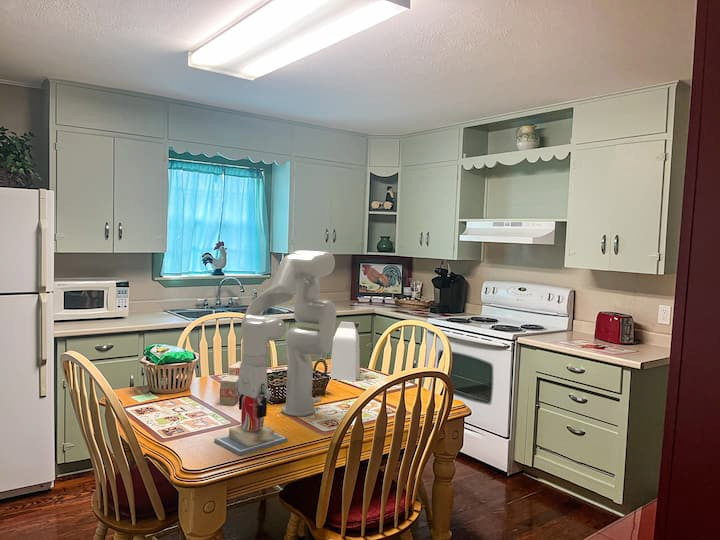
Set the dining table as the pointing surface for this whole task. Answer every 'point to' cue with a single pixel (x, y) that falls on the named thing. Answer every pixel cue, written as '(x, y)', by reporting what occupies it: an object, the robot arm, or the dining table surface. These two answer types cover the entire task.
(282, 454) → the dining table surface
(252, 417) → the soda can
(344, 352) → the milk
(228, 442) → the butter dish
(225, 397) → the stack of blocks
